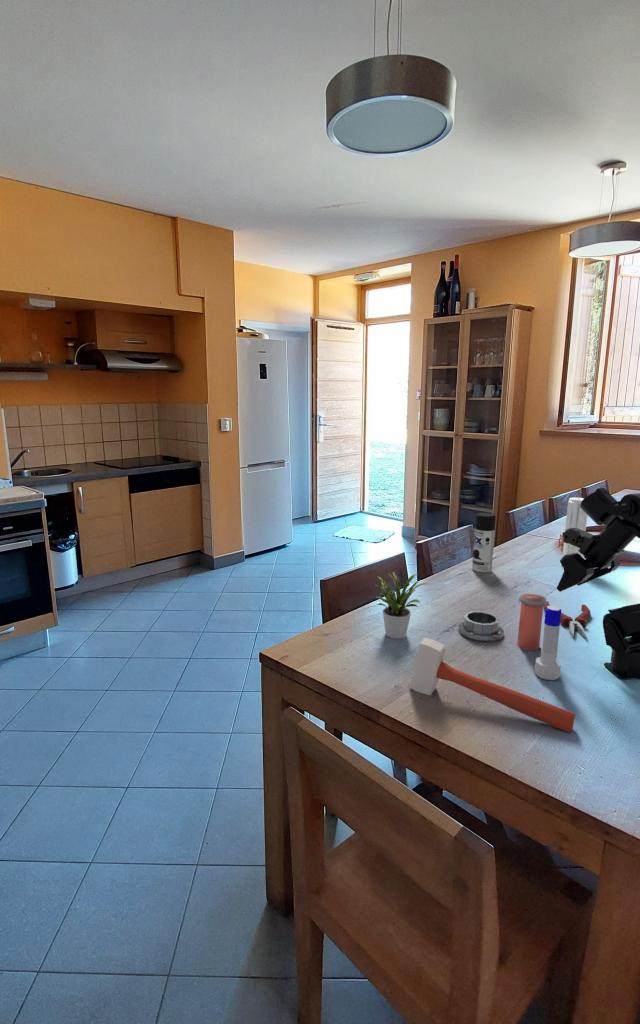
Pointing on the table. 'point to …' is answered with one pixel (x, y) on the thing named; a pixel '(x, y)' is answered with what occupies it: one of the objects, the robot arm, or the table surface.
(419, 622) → the table surface
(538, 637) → the orange capped cylinder
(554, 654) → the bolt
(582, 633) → the pliers
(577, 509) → the white tall cylinder
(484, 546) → the spray can
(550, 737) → the table surface
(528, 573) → the table surface
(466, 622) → the pipe socket
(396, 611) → the house plant
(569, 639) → the table surface
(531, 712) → the mallet
